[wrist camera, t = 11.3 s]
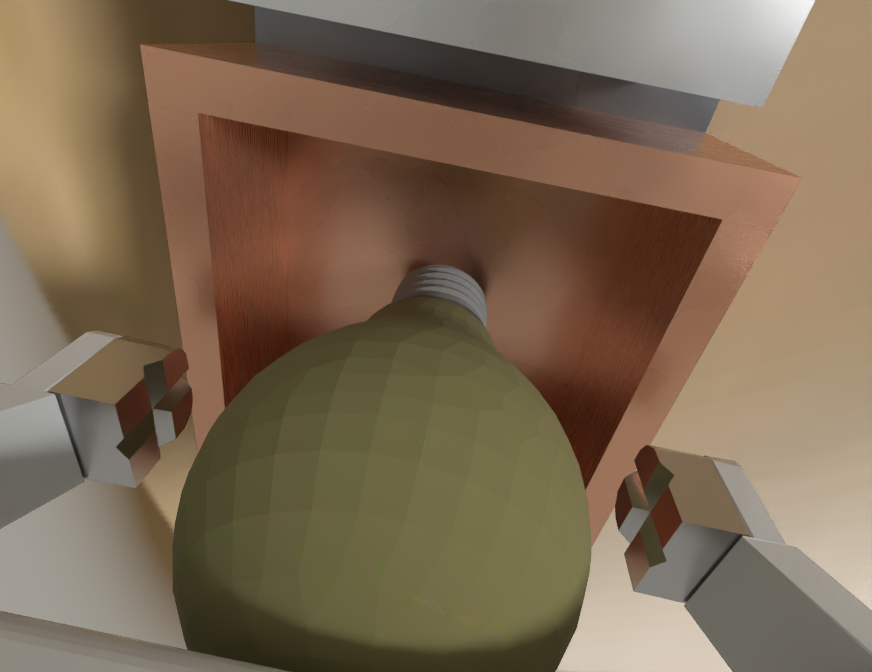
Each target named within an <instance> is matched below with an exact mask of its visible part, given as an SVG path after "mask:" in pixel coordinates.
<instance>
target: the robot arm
mask: <svg viewBox="0 0 872 672" xmlns="http://www.w3.org/2000/svg"><path fill="white" fill-rule="evenodd" d="M188 369H189V366H188V360H187V355H186V353H185V352H184V351H182V350H181V349H179V348H175V347H170V346H166V345H162V344H157V343H153V342H149V341H144V340H140V339H136V338H131V337H127V336H120V335H116V334H112V333H107V332H103V331H98V330H97V331H90V332H86V333H85V334H83V335H82V336H80V337H79V338H78V339H76V340H75V341H73V342H72V343H71V344H69V345H68V346H66V347H65V348H63V349H62V350H61V351H59V352H58V353H56V354H55V355H53V356H52V357H51V358H49V359H48V360H46V361H45V362H44V363H42V364H41V365H39V366H38V367H36V368H35V369H34V370H32V371H31V372H29V373H28V374H26V375H25V376H24V377H22V378H21V379H20V380H18V381H17V382H15V383H14V384H12V385H9V384H4V383H0V529H1V528H3V527H4V526H6V525H8V524H10V523H11V522H13V521H15V520H17V519H18V518H20V517H22V516H24V515H26V514H27V513H29V512H31V511H33V510H35V509H36V508H38V507H40V506H42V505H44V504H45V503H47V502H49V501H50V500H52V499H54V498H56V497H58V496H59V495H61V494H63V493H65V492H67V491H69V490H70V489H72V488H74V487H76V486H77V485H79V484H81V483H83V482H84V479H88V480H94V481H100V482H106V483H111V484H116V485H122V486H127V487H133V488H136V487H137V486H138V485H139V484H140V482H141V481H142V480H143V479H144V478H145V476H146V475H147V474H148V473H149V471H150V470H151V469H152V468H153V467H154V465H155V464H156V463H157V462H158V460H159V459H160V458H161V457H160V446H162V445H164V444H166V443H168V442H170V441H173V440H175V439H176V438H177V437H178V435H179V434H180V433H181V432H182V430H183V429H184V428H185V426H186V424H187V421H188V419H189V416H190V414H191V412H192V404H193V395H192V388H191V387H190V386H189V384H188V383H187V382H186V381H185V380H184V378H183V377H182V376H183V375H184V374H185V372H186V371H187V370H188ZM634 461H635V465H636V468H637V471H636V472H634V473H632V474H630V475H628V476H626V477H624V479H623V481H622V483H621V485H620V487H619V489H618V492H617V498H616V504H615V512H616V521H617V525H618V530H619V531H620V533H621V534H622V535H623V536H624V537H625V538H626V540H627V541H628V542H629V543H630V545H629V547H628V548H627V550H626V552H625V553H624V555H625V559H626V563H627V567H628V571H629V575H630V579H631V583H632V587H633V591H635V592H639V593H643V594H648V595H652V596H656V597H660V598H665V599H669V600H673V601H677V602H681V603H686V604H685V605H684V606H685V608H686V609H687V610H688V612H689V613H690V614H691V616H692V617H693V619H694V620H695V621H696V623H697V624H698V625H699V627H700V628H701V629H702V631H703V632H704V633H705V635H706V636H707V638H708V639H709V640H710V642H711V643H712V644H713V646H714V647H715V648H716V650H717V651H718V652H719V654H720V655H721V657H722V658H723V659H724V661H725V662H726V663H727V665H728V666H729V667H730V669H731V670H732V671H733V672H872V610H870V609H869V608H868V607H867V606H866V605H865V604H863V603H862V602H861V601H860V600H859V599H857V598H856V597H855V596H854V595H853V594H851V593H850V592H849V591H848V590H847V589H846V588H844V587H843V586H842V585H841V584H840V583H838V582H837V581H836V580H835V579H834V578H833V577H831V576H830V575H829V574H828V573H827V572H825V571H824V570H823V569H822V568H821V567H820V566H818V565H817V564H816V563H815V562H814V561H812V560H811V559H810V558H809V557H808V556H806V555H805V554H804V553H803V552H802V551H801V550H799V549H798V548H797V547H794V546H790V545H786V543H785V541H784V540H783V538H782V536H781V534H780V532H779V531H778V529H777V527H776V525H775V524H774V522H773V520H772V518H771V517H770V515H769V513H768V511H767V510H766V508H765V506H764V504H763V503H762V501H761V499H760V497H759V496H758V494H757V492H756V490H755V489H754V487H753V485H752V483H751V482H750V480H749V478H748V476H747V475H746V473H745V471H744V469H743V468H742V467H741V466H740V465H739V464H738V463H736V462H735V461H731V460H726V459H720V458H715V457H709V456H700V455H696V454H691V453H686V452H681V451H676V450H671V449H666V448H661V447H656V446H650V445H646V446H644V447H643V448H642V449H641V450H640V451H639V453H638V454H637V456H636V458H635V459H634ZM0 672H291V671H286V670H281V669H276V668H272V667H267V666H262V665H257V664H253V663H248V662H243V661H238V660H233V659H229V658H224V657H219V656H214V655H210V654H205V653H200V652H195V651H190V650H185V649H181V648H176V647H171V646H166V645H161V644H157V643H152V642H147V641H142V640H138V639H133V638H128V637H123V636H119V635H113V634H109V633H104V632H99V631H94V630H90V629H85V628H80V627H75V626H71V625H66V624H61V623H56V622H51V621H46V620H42V619H37V618H32V617H28V616H23V615H17V614H13V613H8V612H4V611H0Z"/></svg>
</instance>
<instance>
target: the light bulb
mask: <svg viewBox="0 0 872 672" xmlns="http://www.w3.org/2000/svg"><path fill="white" fill-rule="evenodd" d="M486 324H487V303H486V298H485V295H484V293H483V291H482V289H481V287H480V286H479V285H478V283H477V282H476V281H475V280H474V279H473V278H472V277H471V276H470V275H468V274H467V273H465V272H464V271H462V270H459V269H457V268H455V267H452V266H446V265H430V266H424V267H422V268H419V269H416V270H414V271H413V272H411V273H410V274H408V275H407V276H406V277H405V278H404V279H403V280H402V281H401V283H400V284H399V286H398V288H397V290H396V292H395V294H394V297H393V299H392V302H391V303H390V304H388V305H386V306H384V307H383V308H381V309H380V310H379V311H377V312H376V313H374V314H373V315H372V316H371V317H370V318H369V319H368V320H367V321H365V322H360V323H355V324H351V325H347V326H345V327H342V328H339V329H336V330H334V331H331V332H328V333H325V334H323V335H320V336H318V337H316V338H313V339H311V340H309V341H306V342H304V343H302V344H300V345H299V346H297V347H296V348H294V349H292V350H291V351H289V352H288V353H286V354H285V355H283V356H281V357H280V358H278V359H277V360H275V361H274V362H273V363H271V364H270V365H269V366H267V367H266V368H265V369H264V370H262V371H261V372H260V373H258V374H257V375H256V376H254V377H253V379H252V380H251V381H250V382H249V383H248V384H247V385H246V386H245V387H244V388H243V389H242V390H241V391H240V392H239V394H238V395H237V396H236V397H235V398H234V399H233V400H232V401H231V403H230V404H229V405H228V406H227V407H226V408H225V409H224V411H223V412H222V413H221V414H220V415H219V416H218V418H217V420H216V421H215V423H214V424H213V426H212V427H211V429H210V430H209V432H208V434H207V436H206V438H205V440H204V442H203V444H202V446H201V448H200V450H199V452H198V454H197V457H196V459H195V461H194V463H193V465H192V467H191V469H190V471H189V473H188V476H187V479H186V482H185V484H184V487H183V490H182V493H181V498H180V503H179V507H178V512H177V517H176V521H175V529H174V538H173V539H174V540H173V593H174V597H175V602H176V606H177V610H178V614H179V619H180V623H181V627H182V631H183V636H184V640H185V643H186V646H187V649H188V650H190V651H195V652H200V653H205V654H210V655H214V656H219V657H224V658H229V659H233V660H238V661H243V662H248V663H253V664H257V665H262V666H267V667H272V668H276V669H281V670H286V671H291V672H555V671H556V669H557V668H558V666H559V663H560V661H561V659H562V657H563V655H564V653H565V651H566V649H567V647H568V645H569V643H570V641H571V639H572V637H573V634H574V632H575V630H576V628H577V624H578V620H579V616H580V612H581V608H582V604H583V599H584V595H585V590H586V586H587V581H588V577H589V570H590V561H591V528H590V517H589V505H588V500H587V496H586V491H585V487H584V483H583V479H582V475H581V471H580V466H579V464H578V461H577V459H576V457H575V454H574V452H573V449H572V447H571V445H570V442H569V440H568V438H567V436H566V434H565V432H564V430H563V428H562V426H561V424H560V422H559V420H558V418H557V416H556V414H555V413H554V412H553V410H552V409H551V408H550V406H549V405H548V403H547V402H546V401H545V399H544V398H543V397H542V395H541V394H540V393H539V391H538V390H537V389H536V388H535V387H534V385H533V384H532V383H531V382H530V381H529V380H528V379H527V378H526V377H525V376H524V375H523V373H522V372H521V371H520V370H519V369H518V368H517V367H516V366H515V365H514V364H513V363H511V362H510V361H509V360H508V359H506V358H505V357H504V356H503V355H501V354H500V353H499V352H497V350H496V346H495V344H494V342H493V340H492V337H491V335H490V333H489V332H488V331H487V329H486Z"/></svg>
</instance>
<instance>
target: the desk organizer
mask: <svg viewBox="0 0 872 672" xmlns="http://www.w3.org/2000/svg"><path fill="white" fill-rule="evenodd" d="M230 1H235V2H240V3H245V4H250V5H254V12H255V42H234V43H183V44H140V48H141V55H142V62H143V69H144V77H145V84H146V91H147V98H148V105H149V112H150V119H151V126H152V133H153V140H154V148H155V155H156V162H157V169H158V176H159V183H160V190H161V197H162V204H163V211H164V219H165V226H166V233H167V240H168V247H169V254H170V261H171V268H172V275H173V282H174V290H175V297H176V304H177V311H178V318H179V325H180V332H181V339H182V346H183V351H184V352H185V353H186V355H187V360H188V366H189V369H188V370H187V371H186V375H187V382H188V384H189V386H190V387H191V388H192V395H193V404H192V417H193V424H194V432H195V439H196V446H197V453H198V452H199V450H200V448H201V446H202V444H203V442H204V440H205V438H206V436H207V434H208V432H209V430H210V429H211V427H212V426H213V424H214V423H215V421H216V420H217V418H218V416H219V415H220V414H221V413H222V412H223V411H224V409H225V408H226V407H227V406H228V405H229V404H230V403H231V401H232V400H233V399H234V398H235V397H236V396H237V395H238V394H239V392H240V391H241V390H242V389H243V388H244V387H245V386H246V385H247V384H248V383H249V382H250V381H251V380H252V379H253V377H254V376H256V375H257V374H258V373H260V372H261V371H262V370H264V369H265V368H266V367H267V366H269V365H270V364H271V363H273V362H274V361H275V360H277V359H278V358H280V357H281V356H283V355H285V354H286V353H288V352H289V351H291V350H292V349H294V348H296V347H297V346H299V345H300V344H302V343H304V342H306V341H309V340H311V339H313V338H316V337H318V336H320V335H323V334H325V333H328V332H331V331H334V330H336V329H339V328H342V327H345V326H347V325H351V324H355V323H360V322H365V321H367V320H368V319H369V318H370V317H371V316H372V315H373V314H374V313H376V312H377V311H379V310H380V309H381V308H383V307H384V306H386V305H388V304H390V303H391V302H392V299H393V297H394V294H395V292H396V290H397V288H398V286H399V284H400V283H401V281H402V280H403V279H404V278H405V277H406V276H407V275H408V274H410V273H411V272H413V271H414V270H416V269H419V268H422V267H424V266H430V265H446V266H452V267H455V268H457V269H459V270H462V271H464V272H465V273H467V274H468V275H470V276H471V277H472V278H473V279H474V280H475V281H476V282H477V283H478V285H479V286H480V287H481V289H482V291H483V293H484V295H485V298H486V303H487V324H486V329H487V331H488V332H489V333H490V335H491V337H492V340H493V342H494V344H495V346H496V350H497V352H499V353H500V354H501V355H503V356H504V357H505V358H506V359H508V360H509V361H510V362H511V363H513V364H514V365H515V366H516V367H517V368H518V369H519V370H520V371H521V372H522V373H523V375H524V376H525V377H526V378H527V379H528V380H529V381H530V382H531V383H532V384H533V385H534V387H535V388H536V389H537V390H538V391H539V393H540V394H541V395H542V397H543V398H544V399H545V401H546V402H547V403H548V405H549V406H550V408H551V409H552V410H553V412H554V413H555V414H556V416H557V418H558V420H559V422H560V424H561V426H562V428H563V430H564V432H565V434H566V436H567V438H568V440H569V442H570V445H571V447H572V449H573V452H574V454H575V457H576V459H577V461H578V464H579V466H580V471H581V475H582V479H583V483H584V487H585V491H586V496H587V500H588V505H589V517H590V528H591V547H592V545H593V544H594V542H595V540H596V538H597V537H598V535H599V533H600V531H601V530H602V528H603V526H604V524H605V523H606V521H607V519H608V517H609V516H610V514H611V512H612V510H613V509H614V507H615V504H616V498H617V492H618V489H619V487H620V485H621V483H622V481H623V479H624V477H626V476H628V475H630V474H632V473H634V472H635V470H636V469H637V468H636V465H635V461H634V459H635V458H636V456H637V454H638V453H639V451H640V450H641V449H642V448H643V447H644V446H646V445H650V444H651V442H652V441H653V439H654V437H655V435H656V434H657V432H658V430H659V428H660V427H661V425H662V423H663V421H664V420H665V418H666V416H667V414H668V413H669V411H670V409H671V407H672V406H673V404H674V402H675V400H676V399H677V397H678V395H679V393H680V392H681V390H682V388H683V386H684V385H685V383H686V381H687V379H688V378H689V376H690V374H691V372H692V371H693V369H694V367H695V365H696V364H697V362H698V360H699V358H700V357H701V355H702V353H703V351H704V350H705V348H706V346H707V344H708V343H709V341H710V339H711V337H712V336H713V334H714V332H715V330H716V329H717V327H718V325H719V323H720V322H721V320H722V318H723V316H724V315H725V313H726V311H727V310H728V308H729V306H730V304H731V303H732V301H733V299H734V297H735V296H736V294H737V292H738V290H739V289H740V287H741V285H742V283H743V282H744V280H745V278H746V276H747V275H748V273H749V271H750V269H751V268H752V266H753V264H754V262H755V261H756V259H757V257H758V255H759V254H760V252H761V250H762V248H763V247H764V245H765V243H766V241H767V240H768V238H769V236H770V234H771V233H772V231H773V229H774V227H775V226H776V224H777V222H778V220H779V219H780V217H781V215H782V213H783V212H784V210H785V208H786V206H787V205H788V203H789V201H790V199H791V198H792V196H793V194H794V192H795V191H796V189H797V187H798V185H799V184H800V182H801V180H802V178H801V177H799V176H796V175H794V174H792V173H790V172H788V171H786V170H784V169H781V168H779V167H777V166H775V165H773V164H771V163H769V162H766V161H764V160H762V159H760V158H758V157H756V156H754V155H751V154H749V153H747V152H745V151H743V150H741V149H739V148H736V147H734V146H732V145H730V144H728V143H726V142H724V141H721V140H719V139H717V138H715V137H713V136H711V135H708V134H706V133H705V132H706V129H707V127H708V125H709V123H710V120H711V118H712V116H713V114H714V111H715V109H716V107H717V104H718V102H719V100H720V99H721V100H726V101H731V102H736V103H741V104H746V105H751V106H756V107H761V108H763V106H764V104H765V102H766V100H767V98H768V95H769V93H770V91H771V89H772V87H773V85H774V83H775V81H776V79H777V77H778V75H779V73H780V71H781V69H782V67H783V65H784V63H785V61H786V59H787V57H788V55H789V53H790V51H791V48H792V46H793V44H794V42H795V40H796V38H797V36H798V34H799V32H800V30H801V28H802V26H803V24H804V22H805V20H806V18H807V16H808V14H809V12H810V10H811V8H812V6H813V4H814V2H815V0H230Z"/></svg>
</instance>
